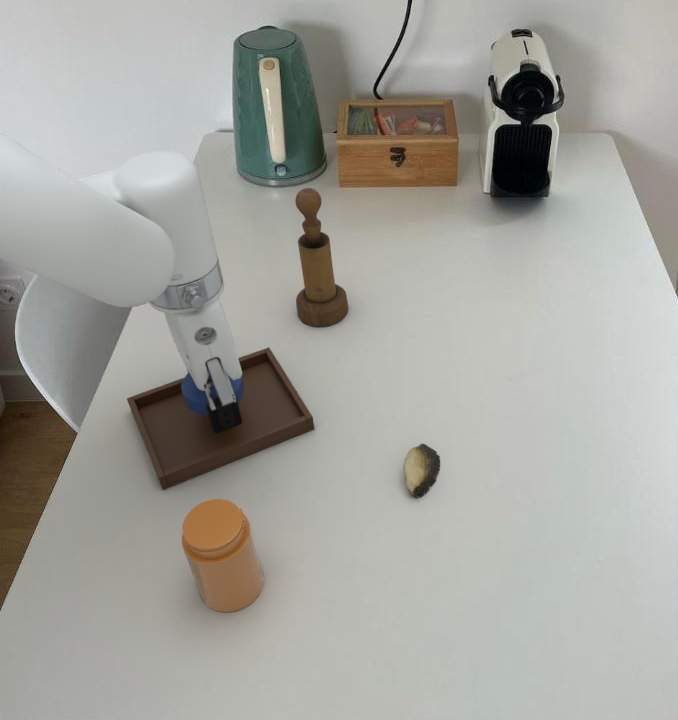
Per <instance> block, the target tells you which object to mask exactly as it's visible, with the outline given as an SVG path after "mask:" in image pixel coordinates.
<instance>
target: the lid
mask: <svg viewBox="0 0 678 720" xmlns="http://www.w3.org/2000/svg"><path fill="white" fill-rule="evenodd" d="M183 378H184V379H183V381H182V384H181V389H182V393H183V397H184V401H185V404H186V406H187V407H188V408H189V409H190V410H191V411H193V412H195V413H197V414H201V415H209V414H208V411H207V407H206V406H207V405H209V404H208V401H207V398H206V395H205V392H204V391H202V390H200V389H198V388H197V386H196V384H195V382H194V381H193V379H192V377H191V375H190V373H188V372H187V373H186V375H185V376H184V377H183ZM210 379H211V377H210V375H208V380H210ZM229 379H230V383H231V386H232V389H233V392H234V395H235V396H236V398H237V402H238V403H239V402H240V400H241V399H242V396H243V392H244V391H243V389H244V386H243V381H242V380H241V378H239V379H236V380H232V379H231V378H230V377H229ZM210 391H211V394H212V397H213V399H214V398H216V397H217V392H216V390H215V387H213V388H210Z"/></svg>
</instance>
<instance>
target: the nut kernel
mask: <svg viewBox="0 0 678 720" xmlns="http://www.w3.org/2000/svg"><path fill="white" fill-rule="evenodd" d="M437 453H438V452H437V450H435V449H434V448H432V447H430V446H429V445H427V444H425V443H420V444H418V445H417V446H415V447H414V446H413V447H412V448H411V449H409V450H408V452H407V454H406V456H405V458H404V463H403V473H404V478H405V484H406V487H407V489H408V491H409V493H410V494H411V495H413V496H416V497H417V498H419V497H420V498H421V497H423V496H424V495H427V493H428V492H429V491H430V487H433V485H435V483H436V482H437V476H438V475H439V471H441V468H440V467H441V459H440V457H441V455H439V454H437Z"/></svg>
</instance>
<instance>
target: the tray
mask: <svg viewBox="0 0 678 720" xmlns="http://www.w3.org/2000/svg"><path fill="white" fill-rule="evenodd" d="M238 359H239V363H240V366H241V370H242V376H241V380H242V381H243V386H244V389H243V391H244V392H243V396H242V399H241V400H240V402H239V403H238V406H239V410H240V414H241V418H242V423H241V424H240V425H238V426H235V427H233V428H230V429H228V430H225V431H222V432H220V433H214V431H213V428H212V425H211V421H210V418H209V415H201V414H197V413H195V412H193V411H191V410H190V409H189V408H188V407H187V406H186V404H185V401H184V397H183V393H182V389H181V384H182V381H183V379H184V377H182V378H179V379H176V380H173V381H171V382H168V383H165V384H162V385H160V386H157V387H154V388H151V389H148V390H146V391H143V392H141V393H137V394H134V395H132V396H128V397H127V398H126V401H127V403H128V406H129V409H130V411H131V413H132V417H133V419H134V421H135V424H136V426H137V430H138V432H139V435H140V436H141V439H142V441H143V444H144V447H145V449H146V451H147V454H148V457H149V459H150V461H151V464H152V467H153V469H154V472H155V474H156V477H157V479H158V482H159V484H160V487H161V489H162V490H164V491H165V490H166V489H169V488H171V487H174V486H176V485H179V484H181V483H184V482H186V481H189V480H192V479H195V478H196V477H198V476H201V475H204V474H206V473H209V472H211V471H214V470H216V469H219V468H222V467H224V466H227V465H229V464H231V463H233V462H236V461H238V460H241V459H244V458H247V457H248V456H250V455H251V456H252V455H253V454H256V453H259V452H262V451H263V450H266V449H269V448H270V447H274V446H276V445H278V444H280V443H283V442H286V441H288V440H291V439H294V438H296V437H298V436H300V435H304V434H306V433H308V432H310V431H313V430H315V423H314V417H313V415H312V413H311V412H310V410H309V408H308V407H307V405H306V404H305V402H304V401H303V399H302V398H301V396H300V394H299V393H298V391H297V390H296V388H295V386H294V385H293V383H292V382H291V380H290V378H289V377H288V375H287V374H286V372H285V370H284V369H283V367H282V366H281V364H280V362H279V361H278V359H277V357H276V356H275V354H274V352H273V351H272V349H271V348H270V347H265V348H262V349H260V350H257V351H254V352H251V353H249V354H245V355H243V356H241V357H238Z"/></svg>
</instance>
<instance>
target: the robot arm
mask: <svg viewBox="0 0 678 720" xmlns="http://www.w3.org/2000/svg"><path fill="white" fill-rule="evenodd" d="M202 184H203V183H202V180H201V176H200V173H199V170H198V167H197V166H196V164H195V163H194V162H193V161H192V159H190V158H189V157H188V156H186V155H184V154H182V153H180V152H177V151H174V150H173V151H172V150H161V149H160V150H149V151H146V152H142V153H138V154H136V155H134V156H131V157H129V158H128V159H126V160H124V161H123V162H122V163H121V164H120V165H119V166H118V167H116V168H113V169H110V170H107V171H103V172H100V173H99V172H98V173H96V174H92V175H88V176H84V177H80V178H75V177H74V176H71V175H70V174H68V173H66V172H65V171H64V170H63V169H62V170H61V169H60V168H58V167H57V166H55V165H53V164H52V163H50V162H48V161H47V160H45V159H44V158H42V157H40V156H39V155H37V154H36V153H34V152H33V151H31V150H30V149H28V148H27V147H25V146H23V145H22V144H21V143H19V142H18V141H16V140H15V139H13V138H12V137H10V136H9V135H8V134H6V133H5V132H3V131H1V130H0V259H2V260H4V261H6V262H8V263H11V264H13V265H16V266H17V267H19V268H22V269H24V270H26V271H28V272H30V273H32V274H35V275H37V276H39V277H41V278H43V279H46V280H48V281H51V282H53V283H55V284H57V285H60V286H62V287H64V288H67V289H69V290H71V291H74V292H77V293H79V294H82V295H84V296H87V297H89V298H92V299H94V300H97V301H99V302H102V303H104V304H106V305H110V306H113V307H117V308H135V307H140V306H144V305H147V304H149V306H151V307H152V308H153V309H155V310H156V311H159V312H161V313H163V314H164V317H165V321H166V324H167V327H168V329H169V331H170V336H171V337H172V340H173V343H174V345H175V347H176V349H177V351H178V354H179V355H180V358H181V360H182V361H183V364H184V366H185V368H186V370H187V371H186V372H187V374H188V373H190V375H191V377H192V379H193V381H194V382H195V384H196V386H197V388H198V389H200V390H202V391H204V392H205V395H206V398H207V401H208V404H209V405H207V406H206V407H207V411H208V414H209V418H210V421H211V425H212V428H213V431H214V433H220V432H222V431H225V430H228V429H230V428H233V427H235V426H238V425H240V424H241V423H242V418H241V414H240V410H239V406H238V402H237V398H236V396H235V395H234V392H233V389H232V386H231V383H230V379H229V377H230V378H231V379H232V380H236V379H239V378H241V376H242V370H241V366H240V363H239V359H238V358H239V356H238V352H237V349H236V345H235V342H234V337H233V336H232V331H231V328H230V325H229V321H228V319H227V318H228V317H227V316H226V315H227V314H226V313H225V310H224V307H223V304H222V302H221V298H220V297H221V296H222V294H223V292H224V289H225V282H224V276H223V272H222V268H221V263H220V259H219V255H218V250H217V246H216V245H217V244H216V241H215V238H214V237H215V236H214V232H213V229H212V224H211V220H210V215H209V210H208V206H207V203H206V198H205V193H204V189H203V185H202ZM208 375H210V377H211V379H210V380H208ZM213 387H215V390H216V392H217V397H216V398H214V399H213V397H212V394H211V391H210V388H213Z"/></svg>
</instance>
